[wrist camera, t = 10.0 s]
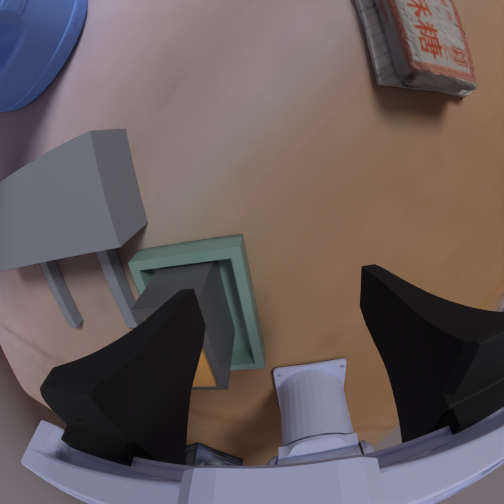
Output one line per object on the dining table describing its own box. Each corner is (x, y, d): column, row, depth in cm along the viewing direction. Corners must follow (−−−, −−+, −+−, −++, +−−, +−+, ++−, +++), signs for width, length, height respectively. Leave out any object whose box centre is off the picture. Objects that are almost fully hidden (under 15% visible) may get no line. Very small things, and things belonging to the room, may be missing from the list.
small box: (245, 458, 40) (242, 505, 30) (224, 464, 42) (219, 507, 32) (198, 441, 37) (189, 492, 27) (179, 447, 39) (169, 493, 30)
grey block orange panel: (236, 334, 25) (229, 395, 18) (191, 337, 25) (174, 395, 19) (215, 253, 21) (196, 307, 15) (164, 260, 22) (129, 312, 15)
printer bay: (178, 316, 25) (164, 352, 20) (56, 319, 27) (36, 344, 22) (125, 128, 18) (90, 130, 13) (5, 187, 20) (-25, 201, 15)
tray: (265, 350, 26) (265, 368, 24) (181, 355, 27) (175, 371, 25) (242, 233, 21) (240, 246, 19) (139, 249, 22) (127, 262, 20)
